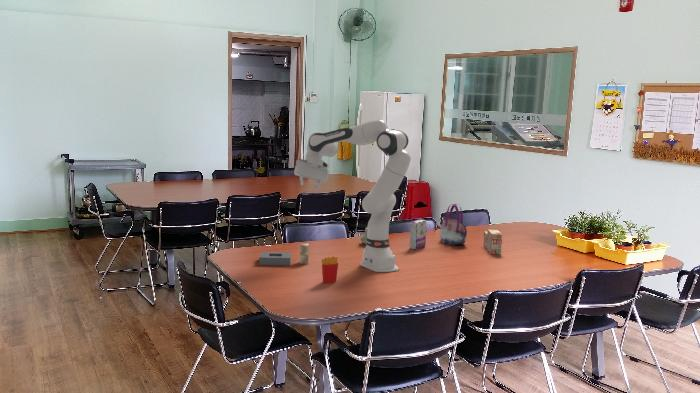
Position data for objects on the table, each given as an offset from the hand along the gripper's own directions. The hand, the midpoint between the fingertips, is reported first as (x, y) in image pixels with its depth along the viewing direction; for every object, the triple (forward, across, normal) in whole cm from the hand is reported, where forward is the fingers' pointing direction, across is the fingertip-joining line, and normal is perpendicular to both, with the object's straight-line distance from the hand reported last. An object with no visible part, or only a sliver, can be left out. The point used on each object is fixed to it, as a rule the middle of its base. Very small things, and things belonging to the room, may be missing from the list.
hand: (309, 186), depth 322 cm
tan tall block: (+42, 0, -5) cm, 42 cm away
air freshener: (+23, +56, +15) cm, 62 cm away
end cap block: (+43, -13, +3) cm, 45 cm away
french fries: (+51, -5, -39) cm, 64 cm away
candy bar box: (+22, +77, -6) cm, 80 cm away
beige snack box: (+18, +115, -30) cm, 120 cm away
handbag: (+15, +104, -7) cm, 106 cm away
